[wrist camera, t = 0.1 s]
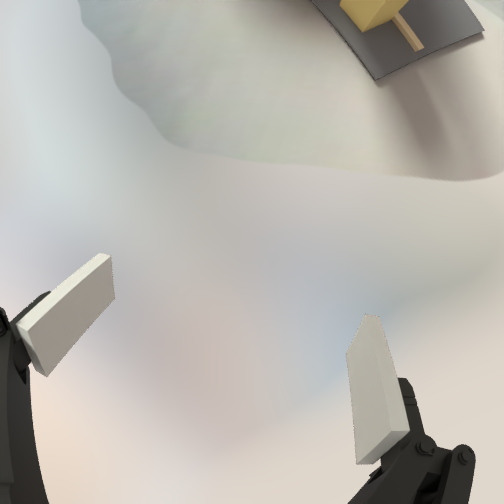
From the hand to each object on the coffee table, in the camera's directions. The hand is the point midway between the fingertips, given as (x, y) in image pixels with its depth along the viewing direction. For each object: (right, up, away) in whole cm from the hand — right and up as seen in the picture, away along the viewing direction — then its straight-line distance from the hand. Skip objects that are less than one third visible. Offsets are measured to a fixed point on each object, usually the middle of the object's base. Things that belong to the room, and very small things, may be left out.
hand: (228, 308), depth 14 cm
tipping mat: (+22, +38, +10) cm, 45 cm away
